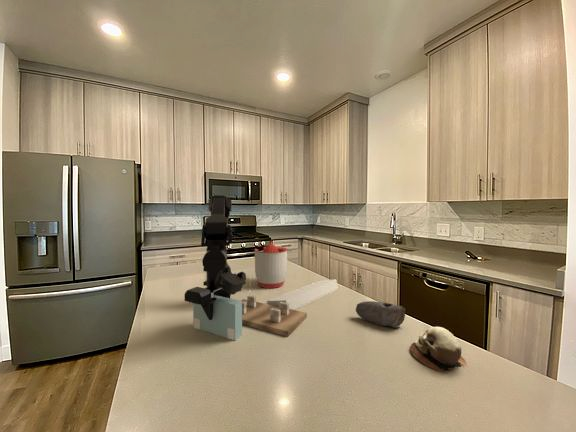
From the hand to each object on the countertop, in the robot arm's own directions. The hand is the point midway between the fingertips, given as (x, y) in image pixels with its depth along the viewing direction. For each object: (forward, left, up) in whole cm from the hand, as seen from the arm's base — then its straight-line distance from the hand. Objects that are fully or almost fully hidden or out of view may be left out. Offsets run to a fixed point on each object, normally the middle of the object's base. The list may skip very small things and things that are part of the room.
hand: (216, 316), depth 72 cm
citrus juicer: (-9, +45, -5) cm, 46 cm away
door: (0, 0, -4) cm, 4 cm away
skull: (+57, +16, -5) cm, 59 cm away
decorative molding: (+12, +38, -5) cm, 41 cm away
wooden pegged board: (+7, +14, -4) cm, 16 cm away
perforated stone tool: (+42, +28, -5) cm, 51 cm away
